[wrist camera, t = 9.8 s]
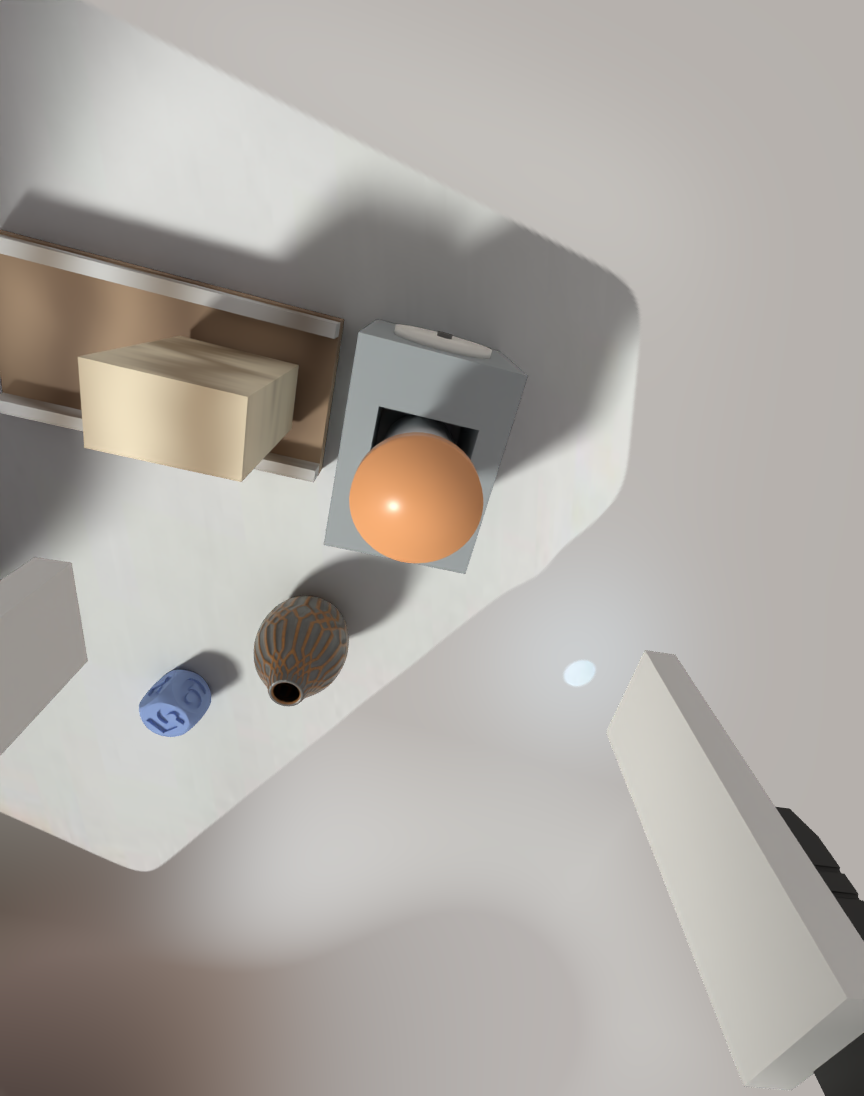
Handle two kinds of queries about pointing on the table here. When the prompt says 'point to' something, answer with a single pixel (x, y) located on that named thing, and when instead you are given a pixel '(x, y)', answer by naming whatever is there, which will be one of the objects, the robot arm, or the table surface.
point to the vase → (300, 648)
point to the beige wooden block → (187, 405)
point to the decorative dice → (175, 703)
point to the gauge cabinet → (423, 412)
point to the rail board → (148, 336)
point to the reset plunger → (416, 493)
